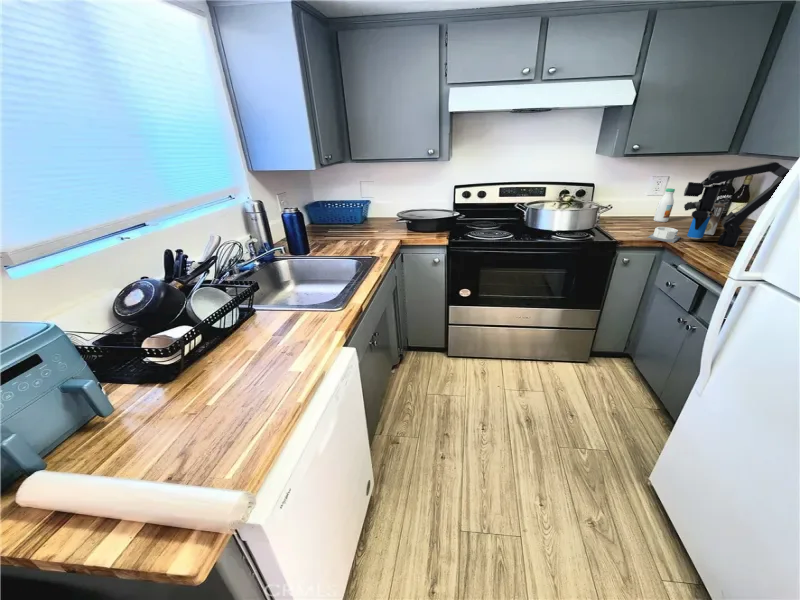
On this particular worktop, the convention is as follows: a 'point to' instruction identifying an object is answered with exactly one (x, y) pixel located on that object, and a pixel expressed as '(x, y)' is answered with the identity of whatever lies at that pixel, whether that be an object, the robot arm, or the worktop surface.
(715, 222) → the coffee box
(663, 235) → the socket
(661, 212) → the milk bottle
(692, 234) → the beverage can
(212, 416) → the worktop surface
